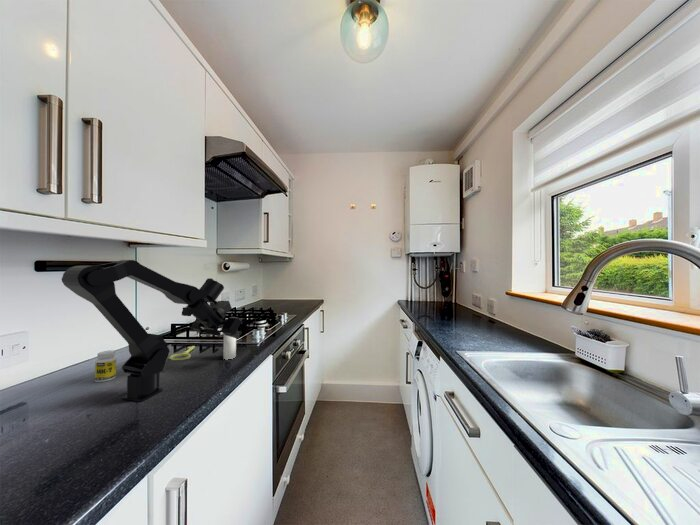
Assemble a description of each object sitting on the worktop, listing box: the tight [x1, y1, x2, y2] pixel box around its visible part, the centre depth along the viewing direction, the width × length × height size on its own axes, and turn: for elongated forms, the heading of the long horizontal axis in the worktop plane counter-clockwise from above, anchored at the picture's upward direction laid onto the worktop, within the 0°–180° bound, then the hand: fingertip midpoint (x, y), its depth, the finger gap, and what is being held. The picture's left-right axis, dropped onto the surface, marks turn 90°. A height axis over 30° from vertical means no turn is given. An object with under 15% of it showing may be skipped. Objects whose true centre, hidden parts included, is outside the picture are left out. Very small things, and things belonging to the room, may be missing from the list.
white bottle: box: [222, 334, 237, 361], centre depth 99 cm, size 4×4×13 cm
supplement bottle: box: [94, 349, 117, 383], centre depth 80 cm, size 5×5×8 cm
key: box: [168, 345, 196, 361], centre depth 102 cm, size 7×12×2 cm, turn 23°
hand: (229, 336), depth 99 cm, fingers open, 9 cm apart
